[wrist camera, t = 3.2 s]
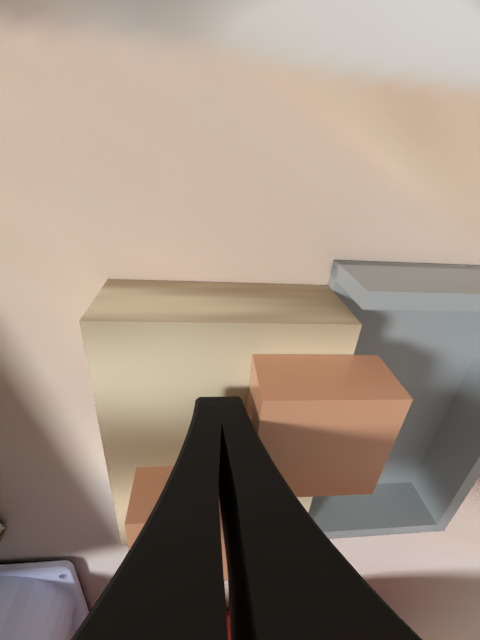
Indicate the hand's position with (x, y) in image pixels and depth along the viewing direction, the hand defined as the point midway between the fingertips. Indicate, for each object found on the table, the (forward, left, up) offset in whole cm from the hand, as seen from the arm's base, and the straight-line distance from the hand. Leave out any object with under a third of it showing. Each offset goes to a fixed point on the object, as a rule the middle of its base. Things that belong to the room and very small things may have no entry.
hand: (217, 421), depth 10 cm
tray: (-3, -8, -4) cm, 9 cm away
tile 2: (0, -3, -1) cm, 3 cm away
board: (-3, 0, -4) cm, 5 cm away
